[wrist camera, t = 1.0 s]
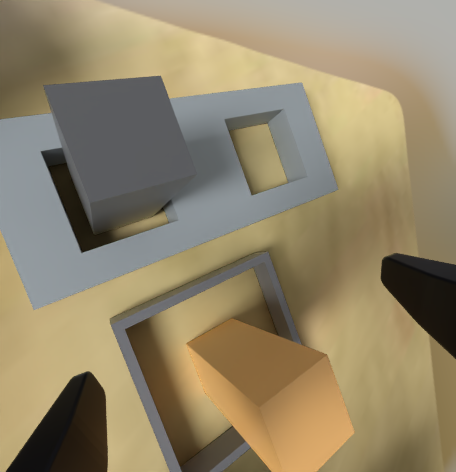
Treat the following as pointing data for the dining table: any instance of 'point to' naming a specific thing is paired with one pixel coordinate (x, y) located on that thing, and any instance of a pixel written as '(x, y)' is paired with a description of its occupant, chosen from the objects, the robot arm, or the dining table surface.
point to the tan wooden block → (273, 394)
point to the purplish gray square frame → (231, 442)
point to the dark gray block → (120, 147)
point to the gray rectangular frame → (177, 209)
